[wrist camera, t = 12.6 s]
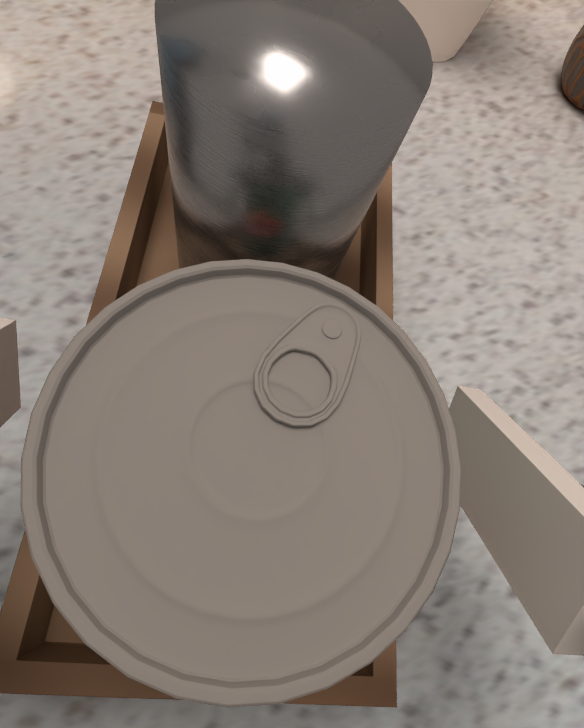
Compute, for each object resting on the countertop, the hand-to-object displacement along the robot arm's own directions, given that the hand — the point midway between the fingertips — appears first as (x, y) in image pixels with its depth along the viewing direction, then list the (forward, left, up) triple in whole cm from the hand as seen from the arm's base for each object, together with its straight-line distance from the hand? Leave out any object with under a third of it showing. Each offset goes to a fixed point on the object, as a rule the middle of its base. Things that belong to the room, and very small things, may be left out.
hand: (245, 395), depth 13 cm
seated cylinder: (+5, +8, -7) cm, 12 cm away
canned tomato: (-1, -2, -6) cm, 7 cm away
